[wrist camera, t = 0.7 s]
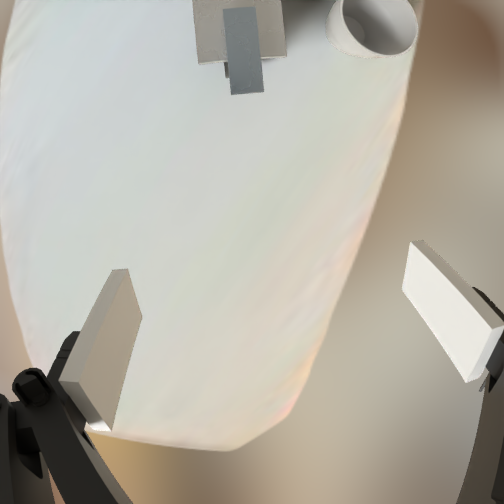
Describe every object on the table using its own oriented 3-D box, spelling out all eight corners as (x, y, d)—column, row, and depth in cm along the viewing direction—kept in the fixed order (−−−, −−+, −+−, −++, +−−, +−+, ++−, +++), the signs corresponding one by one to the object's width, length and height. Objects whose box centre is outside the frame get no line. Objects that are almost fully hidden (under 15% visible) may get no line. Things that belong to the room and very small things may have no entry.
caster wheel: (202, 19, 29) (188, -20, 17) (264, 13, 29) (282, -27, 17) (210, 99, 34) (200, 98, 22) (271, 93, 34) (294, 90, 22)
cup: (372, 7, 29) (412, -12, 20) (379, 66, 32) (422, 61, 24) (309, 2, 29) (334, -24, 20) (316, 64, 32) (345, 54, 23)
